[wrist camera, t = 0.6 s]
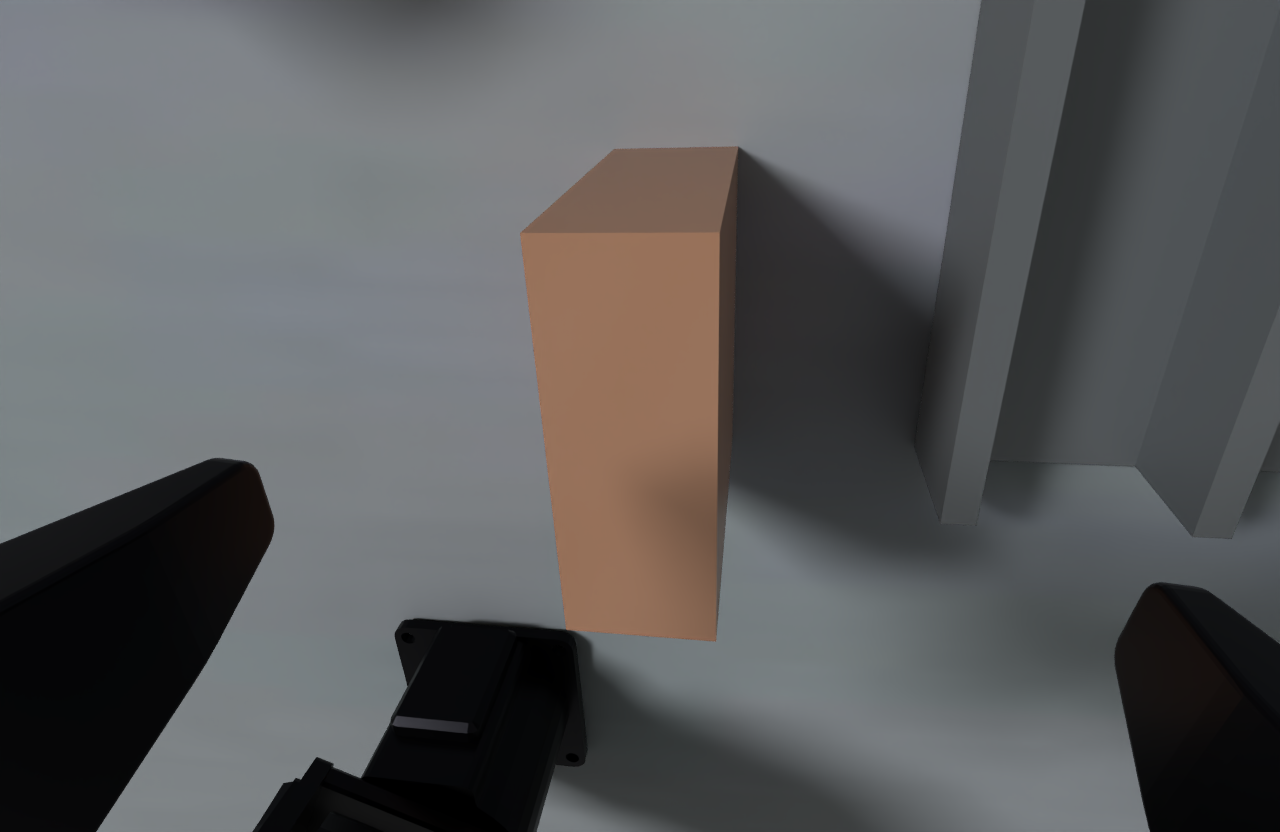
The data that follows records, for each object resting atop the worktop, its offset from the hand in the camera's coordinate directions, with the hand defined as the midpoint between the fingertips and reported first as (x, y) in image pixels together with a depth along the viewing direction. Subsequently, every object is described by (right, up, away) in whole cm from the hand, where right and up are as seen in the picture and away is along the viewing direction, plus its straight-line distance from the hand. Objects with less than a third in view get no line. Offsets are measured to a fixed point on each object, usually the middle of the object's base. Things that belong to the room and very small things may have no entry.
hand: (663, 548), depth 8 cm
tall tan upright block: (+1, +4, +12) cm, 13 cm away
